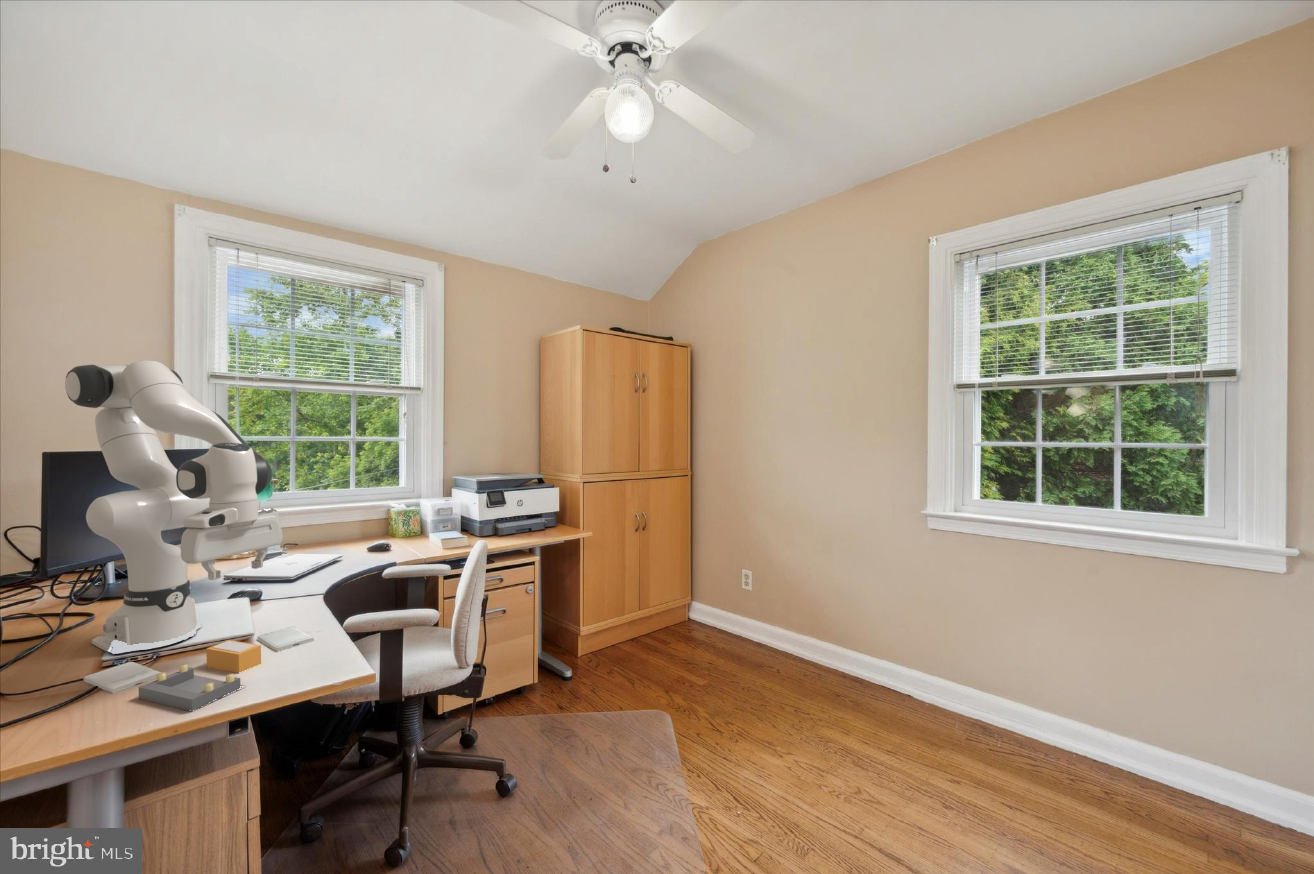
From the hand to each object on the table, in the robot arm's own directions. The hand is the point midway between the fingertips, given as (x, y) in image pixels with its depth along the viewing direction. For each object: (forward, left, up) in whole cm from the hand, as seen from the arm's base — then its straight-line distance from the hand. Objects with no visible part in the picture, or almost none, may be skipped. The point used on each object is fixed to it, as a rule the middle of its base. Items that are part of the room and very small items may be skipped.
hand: (236, 573), depth 123 cm
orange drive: (0, -1, -22) cm, 22 cm away
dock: (+5, -12, -21) cm, 25 cm away
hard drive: (-2, +13, -22) cm, 26 cm away
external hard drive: (-16, -13, -22) cm, 30 cm away
